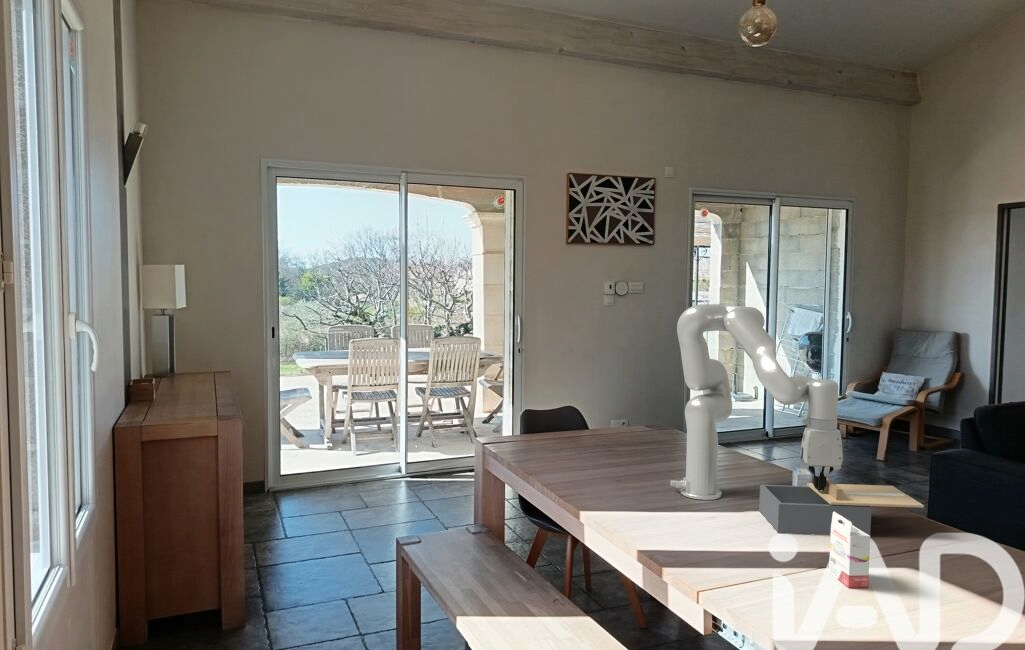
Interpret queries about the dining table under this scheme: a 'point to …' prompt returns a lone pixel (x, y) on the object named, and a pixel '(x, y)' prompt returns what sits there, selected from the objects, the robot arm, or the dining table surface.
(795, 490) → the box
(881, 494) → the lid
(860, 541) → the ink cartridge box
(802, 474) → the medicine box
